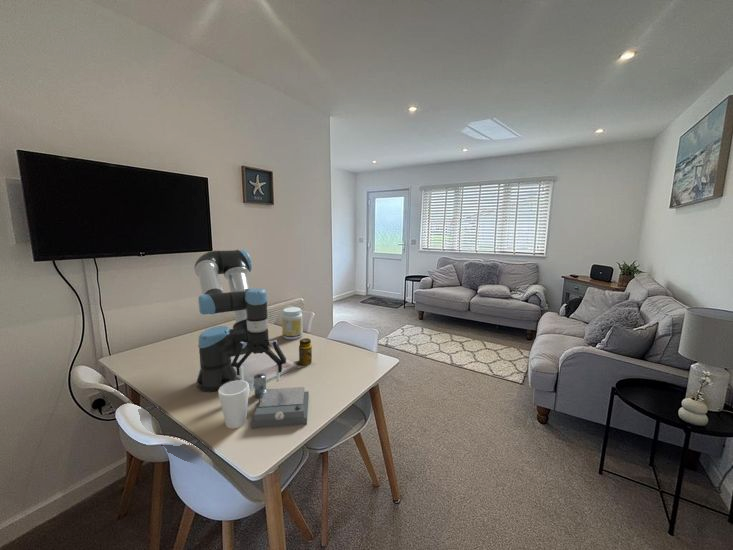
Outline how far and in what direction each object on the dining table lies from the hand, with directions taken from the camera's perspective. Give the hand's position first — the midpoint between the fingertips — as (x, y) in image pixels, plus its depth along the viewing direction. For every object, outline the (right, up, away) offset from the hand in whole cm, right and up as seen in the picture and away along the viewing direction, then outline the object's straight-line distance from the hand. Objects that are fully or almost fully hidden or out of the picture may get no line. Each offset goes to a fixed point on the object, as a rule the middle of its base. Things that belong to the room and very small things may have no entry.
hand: (260, 381), depth 115 cm
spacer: (0, -6, +1) cm, 6 cm away
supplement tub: (-3, +4, +63) cm, 63 cm away
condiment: (+11, -2, +29) cm, 31 cm away
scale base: (+11, -8, -9) cm, 16 cm away
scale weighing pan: (+11, -4, -7) cm, 14 cm away
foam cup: (-3, -9, -15) cm, 18 cm away
